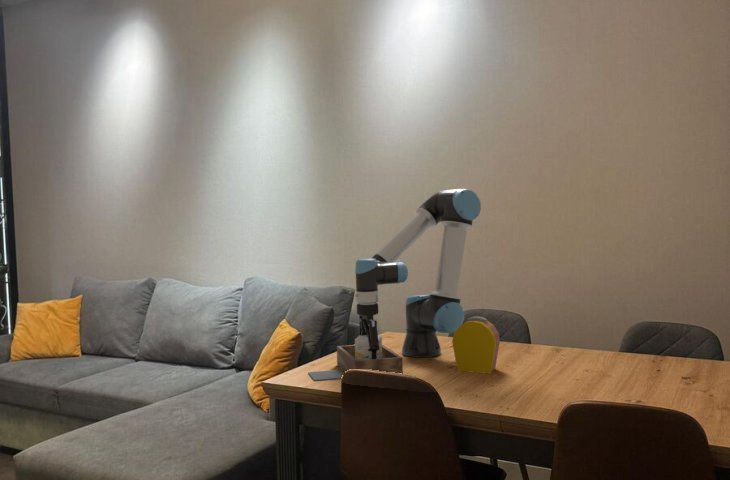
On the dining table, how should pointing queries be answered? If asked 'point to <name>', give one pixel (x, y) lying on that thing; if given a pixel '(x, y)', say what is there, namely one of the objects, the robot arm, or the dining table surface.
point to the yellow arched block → (476, 345)
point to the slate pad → (326, 375)
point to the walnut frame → (387, 363)
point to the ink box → (366, 348)
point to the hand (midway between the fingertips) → (369, 365)
